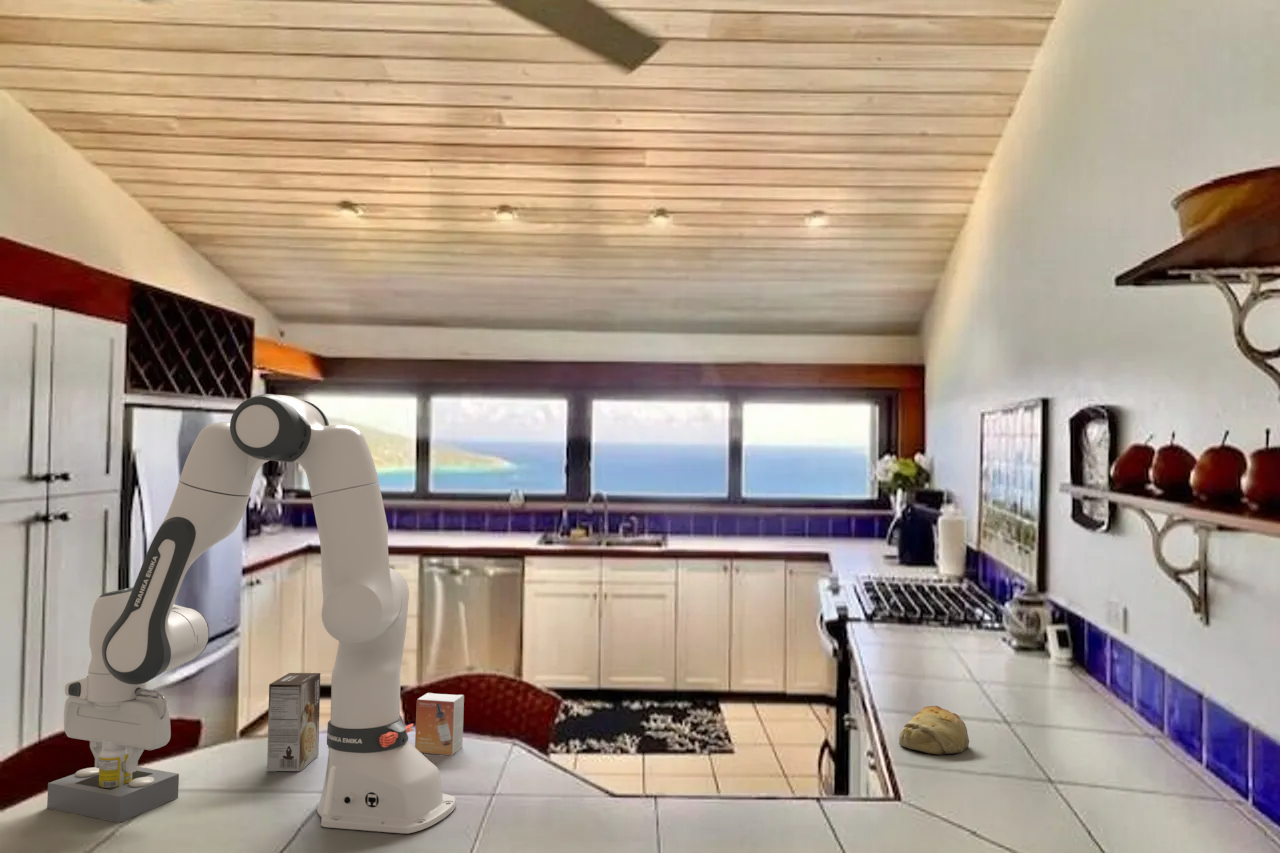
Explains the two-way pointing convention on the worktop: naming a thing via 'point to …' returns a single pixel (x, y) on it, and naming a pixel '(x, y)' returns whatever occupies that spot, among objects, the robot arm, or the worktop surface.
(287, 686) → the coffee box
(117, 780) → the supplement bottle
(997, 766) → the worktop surface
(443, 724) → the small box
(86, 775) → the housing
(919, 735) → the pastry
